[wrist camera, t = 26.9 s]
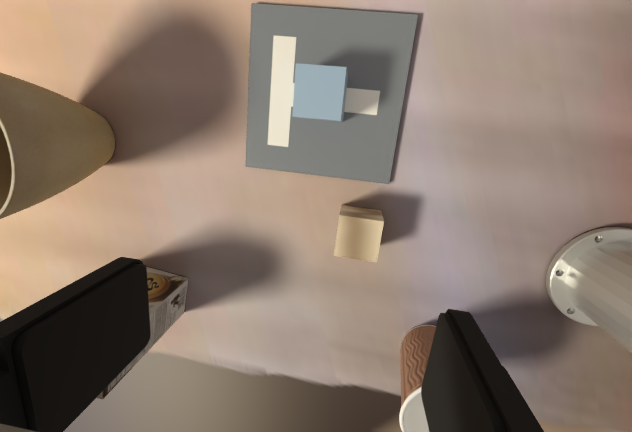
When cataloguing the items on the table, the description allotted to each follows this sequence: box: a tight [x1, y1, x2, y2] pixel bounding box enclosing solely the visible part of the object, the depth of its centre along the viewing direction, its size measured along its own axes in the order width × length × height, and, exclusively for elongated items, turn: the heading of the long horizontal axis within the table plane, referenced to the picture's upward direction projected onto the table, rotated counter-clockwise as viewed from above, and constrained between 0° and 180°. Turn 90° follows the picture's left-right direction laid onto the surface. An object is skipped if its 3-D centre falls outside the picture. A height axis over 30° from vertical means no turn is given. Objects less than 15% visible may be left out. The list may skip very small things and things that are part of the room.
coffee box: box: [96, 267, 188, 399], centre depth 39 cm, size 9×6×16 cm
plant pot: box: [0, 73, 115, 219], centre depth 34 cm, size 15×15×16 cm
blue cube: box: [292, 63, 348, 122], centre depth 33 cm, size 5×5×5 cm
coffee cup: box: [399, 325, 436, 432], centre depth 38 cm, size 10×10×12 cm
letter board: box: [246, 3, 418, 184], centre depth 36 cm, size 18×18×1 cm
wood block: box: [334, 205, 384, 262], centre depth 38 cm, size 5×5×5 cm
